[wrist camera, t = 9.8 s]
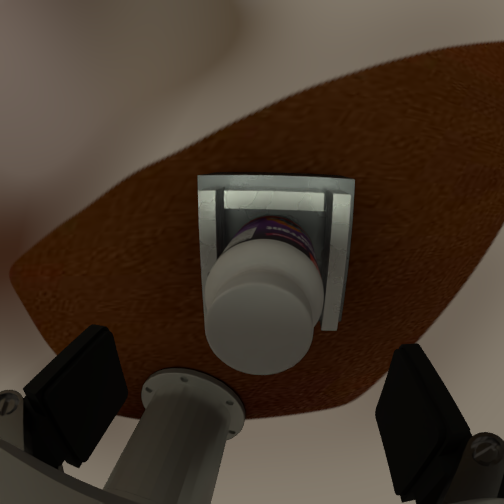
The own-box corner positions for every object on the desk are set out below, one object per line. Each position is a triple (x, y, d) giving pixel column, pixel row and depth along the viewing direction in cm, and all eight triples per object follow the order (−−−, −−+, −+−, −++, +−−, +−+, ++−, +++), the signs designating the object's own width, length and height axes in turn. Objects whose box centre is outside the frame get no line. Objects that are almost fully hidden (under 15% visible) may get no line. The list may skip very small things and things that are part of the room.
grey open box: (332, 292, 25) (346, 340, 18) (218, 287, 26) (194, 332, 19) (341, 175, 22) (364, 182, 15) (215, 172, 23) (185, 178, 16)
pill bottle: (329, 255, 19) (362, 337, 10) (271, 305, 21) (257, 406, 12) (272, 195, 19) (258, 229, 9) (215, 251, 20) (158, 326, 11)
